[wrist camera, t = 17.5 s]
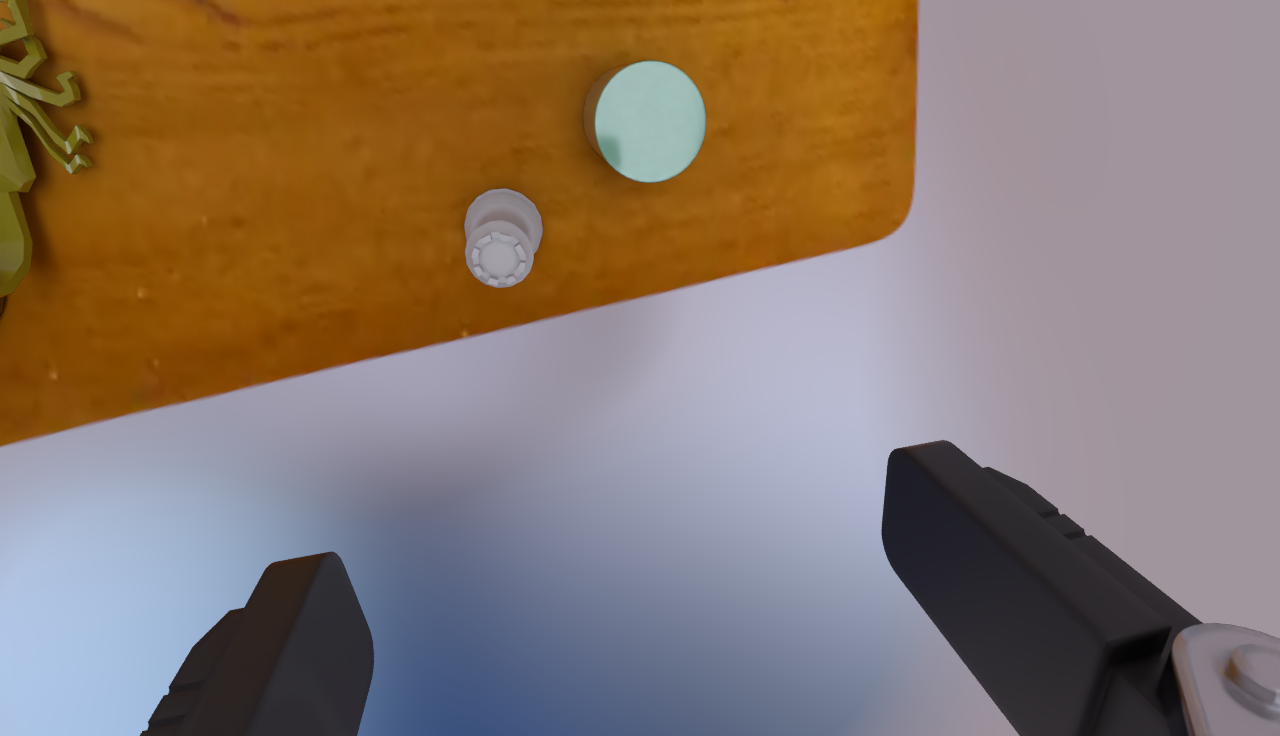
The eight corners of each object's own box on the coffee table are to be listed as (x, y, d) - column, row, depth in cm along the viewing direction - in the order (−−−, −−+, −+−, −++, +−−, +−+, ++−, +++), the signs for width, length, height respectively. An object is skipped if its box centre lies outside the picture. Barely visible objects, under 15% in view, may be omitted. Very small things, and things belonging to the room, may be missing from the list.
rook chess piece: (552, 251, 37) (558, 290, 30) (481, 272, 37) (470, 316, 30) (528, 177, 35) (529, 200, 28) (453, 199, 35) (434, 227, 28)
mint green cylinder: (589, 173, 36) (602, 189, 30) (576, 70, 33) (587, 66, 27) (679, 161, 36) (709, 175, 30) (672, 60, 34) (703, 54, 28)
